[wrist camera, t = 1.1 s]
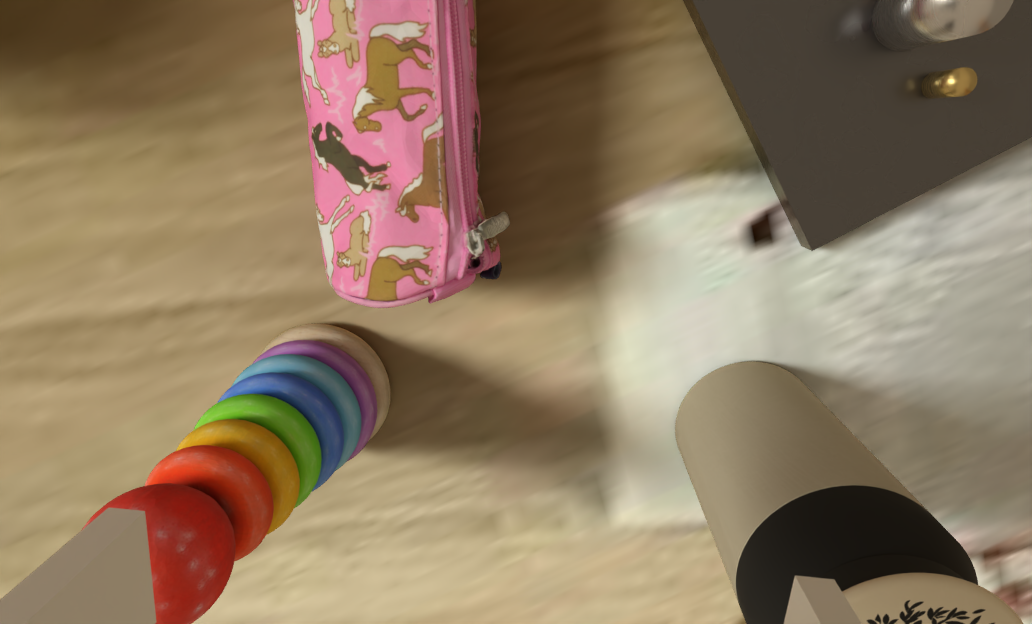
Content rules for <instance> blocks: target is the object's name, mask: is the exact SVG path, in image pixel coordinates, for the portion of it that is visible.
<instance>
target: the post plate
mask: <svg viewBox="0 0 1032 624" xmlns="http://www.w3.org/2000/svg"><path fill="white" fill-rule="evenodd" d="M683 1H684V3H685V5H686V7H687V9H688V11H689V13H690V15H691V18H692V20H693V22H694V24H695V26H696V28H697V30H698V32H699V34H700V36H701V38H702V40H703V43H704V45H705V47H706V49H707V51H708V53H709V55H710V57H711V59H712V61H713V63H714V65H715V67H716V70H717V72H718V74H719V76H720V78H721V80H722V82H723V84H724V86H725V88H726V90H727V92H728V94H729V97H730V99H731V101H732V103H733V105H734V107H735V109H736V111H737V113H738V115H739V117H740V119H741V121H742V124H743V126H744V128H745V130H746V132H747V134H748V136H749V138H750V140H751V142H752V144H753V146H754V149H755V151H756V153H757V155H758V157H759V159H760V161H761V163H762V165H763V167H764V169H765V171H766V173H767V176H768V178H769V180H770V182H771V184H772V186H773V188H774V190H775V192H776V194H777V196H778V198H779V200H780V203H781V205H782V207H783V209H784V211H785V213H786V215H787V217H788V219H789V221H790V223H791V225H792V228H793V230H794V232H795V234H796V236H797V238H798V240H799V242H800V244H801V246H803V247H805V248H807V249H809V250H811V251H813V250H815V249H817V248H819V247H820V246H822V245H824V244H826V243H828V242H830V241H832V240H834V239H836V238H838V237H840V236H842V235H844V234H846V233H847V232H849V231H851V230H853V229H855V228H857V227H859V226H861V225H863V224H865V223H867V222H869V221H871V220H872V219H874V218H876V217H878V216H880V215H882V214H884V213H886V212H888V211H890V210H892V209H894V208H896V207H898V206H899V205H901V204H903V203H905V202H907V201H909V200H911V199H913V198H915V197H917V196H919V195H921V194H923V193H924V192H926V191H928V190H930V189H932V188H934V187H936V186H938V185H940V184H942V183H944V182H946V181H948V180H950V179H951V178H953V177H955V176H957V175H959V174H961V173H963V172H965V171H967V170H969V169H971V168H973V167H975V166H976V165H978V164H980V163H982V162H984V161H986V160H988V159H990V158H992V157H994V156H996V155H998V154H1000V153H1002V152H1003V151H1005V150H1007V149H1009V148H1011V147H1013V146H1015V145H1017V144H1019V143H1021V142H1023V141H1025V140H1027V139H1029V138H1030V137H1032V0H683Z"/></svg>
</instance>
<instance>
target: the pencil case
mask: <svg viewBox="0 0 1032 624" xmlns="http://www.w3.org/2000/svg"><path fill="white" fill-rule="evenodd" d="M293 1H294V7H295V18H296V30H297V40H298V50H299V60H300V72H301V84H302V91H303V97H304V103H305V108H306V113H307V118H308V130H309V146H310V151H311V159H312V169H313V179H314V191H315V202H316V212H317V218H318V224H319V230H320V237H321V244H322V252H323V258H324V262H325V270H326V275H327V279H328V281H329V283H330V285H331V286H332V287H333V288H334V290H335V292H336V293H337V294H338V295H339V296H340V297H342V298H344V299H346V300H348V301H351V302H353V303H356V304H360V305H364V306H368V307H375V308H389V307H397V306H401V305H406V304H409V303H413V302H416V301H419V300H421V299H424V298H426V297H428V302H429V303H433V302H436V301H439V300H442V299H445V298H447V297H449V296H451V295H453V294H455V293H458V292H460V291H462V290H463V289H466V288H468V287H469V286H470V285H471V284H472V283H473V282H474V280H475V278H476V277H475V274H477V273H480V272H481V273H480V276H481V278H486V279H497V278H498V277H499V275H500V272H501V263H500V246H499V243H498V240H497V239H496V237H495V236H496V235H497V234H498V233H501V232H502V231H504V230H505V229H506V228H507V227H508V226H509V225H510V221H509V217H508V215H507V213H506V212H501V213H499V214H498V215H496V216H494V217H491V218H489V219H486V216H485V212H484V208H483V204H482V201H481V198H480V196H479V194H478V192H477V188H478V178H479V168H480V163H479V144H480V133H481V116H480V107H479V100H478V95H477V87H476V70H477V26H476V0H293Z"/></svg>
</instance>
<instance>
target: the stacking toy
mask: <svg viewBox="0 0 1032 624" xmlns="http://www.w3.org/2000/svg"><path fill="white" fill-rule="evenodd" d="M390 397H391V393H390V384H389V379H388V375H387V372H386V370H385V368H384V365H383V363H382V362H381V360H380V358H379V357H378V355H377V354H376V353H375V351H374V350H373V349H372V348H371V347H370V346H369V345H368V344H367V343H366V342H365V341H364V340H362V339H361V338H360V337H358V336H357V335H355V334H353V333H351V332H349V331H347V330H345V329H342V328H340V327H336V326H333V325H328V324H305V325H300V326H296V327H293V328H291V329H288V330H286V331H285V332H283V333H281V334H280V335H278V336H277V337H275V338H274V339H273V340H272V341H271V342H270V343H269V344H268V345H267V346H266V348H265V349H264V350H263V352H262V354H261V355H260V356H259V357H258V358H257V359H256V360H255V361H254V362H253V364H252V365H250V366H249V367H247V368H246V369H245V370H244V371H243V372H242V373H241V374H240V375H239V376H238V377H237V379H236V380H235V381H234V383H233V385H232V386H231V388H230V389H228V390H227V391H226V392H225V393H224V395H223V396H222V397H221V398H220V399H219V401H218V403H217V404H215V405H214V406H212V407H211V408H210V409H209V410H208V411H207V412H206V413H204V415H203V416H202V417H201V418H200V420H199V421H198V423H197V424H196V426H195V428H194V430H193V431H192V432H191V433H190V434H189V435H188V436H186V437H185V438H184V440H183V441H182V442H181V443H180V445H179V446H178V448H177V450H176V451H175V452H173V453H171V454H170V455H168V456H167V457H166V458H164V459H163V460H162V461H160V462H159V463H158V464H157V465H156V466H155V468H154V469H153V470H152V472H151V473H150V475H149V477H148V479H147V481H146V484H145V486H143V487H139V488H136V489H133V490H131V491H129V492H126V493H124V494H122V495H120V496H118V497H116V498H115V499H113V500H112V501H110V502H109V503H107V504H106V505H105V506H103V507H102V508H101V509H100V510H99V511H97V512H96V513H95V514H94V515H93V516H92V517H91V518H90V520H89V521H88V522H87V524H86V525H85V526H84V528H85V527H86V526H87V525H88V524H90V523H91V522H92V521H93V520H94V519H96V518H97V517H98V516H99V515H100V514H101V513H103V512H104V511H105V510H106V509H107V508H108V507H109V508H119V509H129V510H139V511H145V516H146V525H147V535H148V545H149V554H150V564H151V574H152V583H153V593H154V603H155V612H156V623H155V624H191V623H193V622H194V621H195V620H197V619H198V618H199V617H201V616H202V615H203V614H204V613H205V612H206V611H208V610H209V609H210V607H211V606H212V605H213V604H214V603H215V601H216V600H217V599H218V598H219V596H220V595H221V593H222V592H223V590H224V588H225V586H226V584H227V582H228V580H229V577H230V575H231V572H232V569H233V565H234V561H237V560H239V559H241V558H243V557H244V556H246V555H248V554H249V553H251V552H252V551H253V550H254V549H255V548H256V547H257V546H258V545H259V544H260V543H261V542H262V540H263V539H264V537H265V536H266V535H267V534H269V533H271V532H272V531H274V530H275V529H277V528H278V527H279V526H281V525H282V524H283V523H284V522H285V521H286V519H287V518H288V517H289V515H290V514H291V512H292V511H293V509H294V508H295V507H297V506H298V505H300V504H301V503H302V502H303V501H304V500H305V499H306V498H307V497H308V495H309V494H310V493H311V492H312V491H314V490H315V489H317V488H318V487H320V486H321V485H322V484H323V483H325V482H326V481H327V480H328V479H329V477H330V476H331V475H332V474H333V473H334V472H335V471H336V470H337V469H339V468H340V467H341V466H342V465H343V464H344V463H345V462H347V461H349V460H350V459H352V458H353V457H354V456H356V455H357V454H358V453H359V452H360V451H361V450H362V449H363V448H364V447H365V445H366V444H367V442H368V441H369V440H370V439H371V438H372V437H373V436H374V435H375V434H376V433H377V432H378V431H379V429H380V428H381V426H382V425H383V423H384V421H385V419H386V416H387V414H388V410H389V406H390ZM84 528H83V529H84ZM83 529H82V530H83Z"/></svg>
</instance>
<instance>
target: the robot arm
mask: <svg viewBox="0 0 1032 624" xmlns="http://www.w3.org/2000/svg"><path fill="white" fill-rule="evenodd" d="M155 623H156V612H155V603H154V593H153V583H152V574H151V564H150V554H149V545H148V535H147V525H146V516H145V511H139V510H129V509H119V508H109V507H108V508H107V509H106V510H105V511H104V512H103V513H101V514H100V515H99V516H98V517H97V518H96V519H94V520H93V521H92V522H91V523H90V524H88V525H87V526H86V527H85V528H84V529H83V530H81V531H80V532H79V533H78V534H77V535H76V536H74V537H73V538H72V539H71V540H70V541H69V542H67V543H66V544H65V545H64V546H63V547H61V548H60V549H59V550H58V551H57V552H56V553H54V554H53V555H52V556H51V557H50V558H49V559H47V560H46V561H45V562H44V563H43V564H42V565H40V566H39V567H38V568H37V569H36V570H35V571H33V572H32V573H31V574H30V575H29V576H27V577H26V578H25V579H24V580H23V581H22V582H20V583H19V584H18V585H17V586H16V587H15V588H13V589H12V590H11V591H10V592H9V593H8V594H6V595H5V596H4V597H3V598H2V599H0V624H155ZM784 624H862V623H861V622H860V620H859V618H858V617H857V615H856V614H855V612H854V610H853V609H852V607H851V606H850V604H849V602H848V601H847V599H846V598H845V596H844V594H843V593H842V591H841V589H840V588H839V586H838V585H837V583H836V581H835V580H834V579H825V578H815V577H805V576H795V577H794V581H793V586H792V590H791V594H790V599H789V603H788V607H787V612H786V616H785V620H784Z"/></svg>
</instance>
